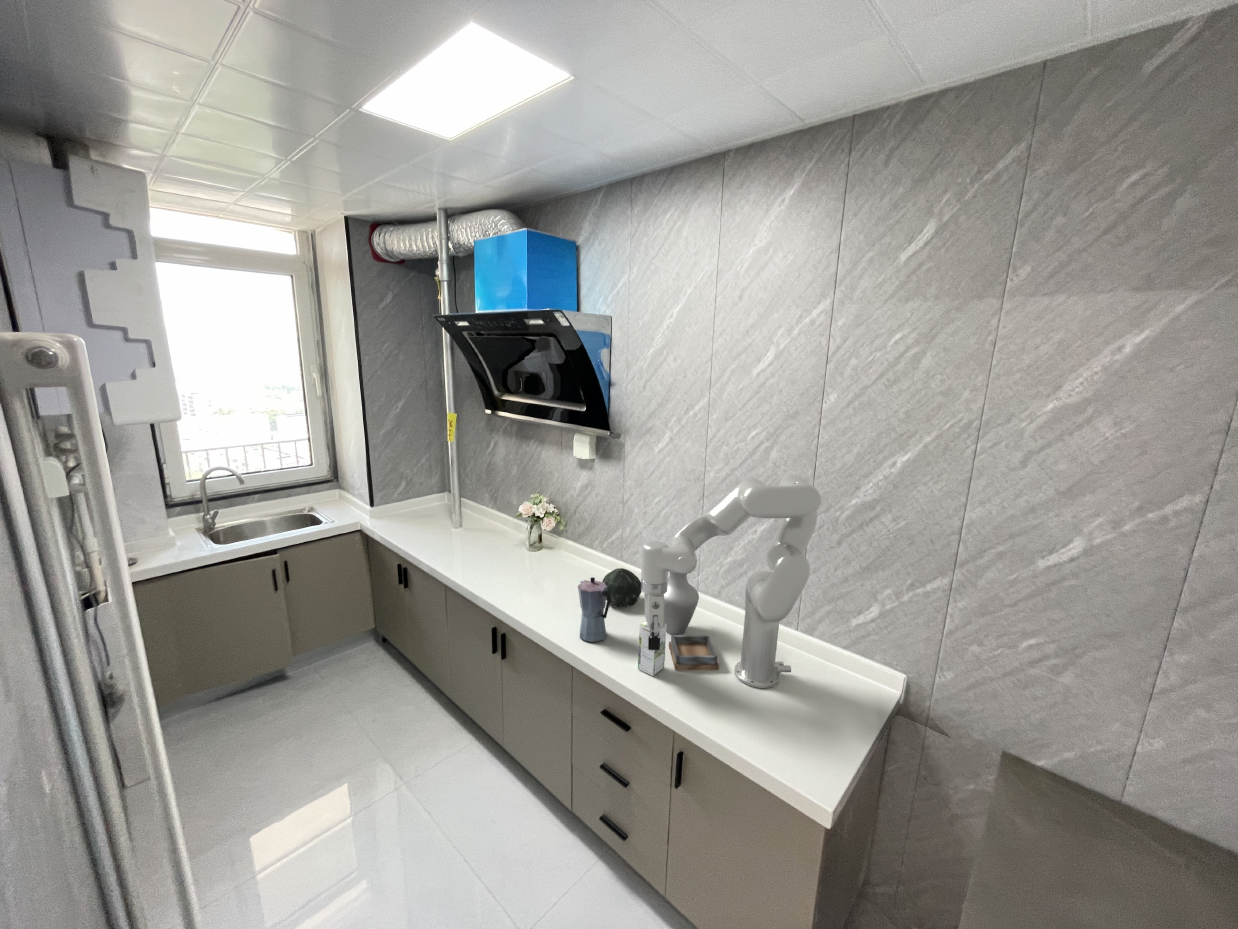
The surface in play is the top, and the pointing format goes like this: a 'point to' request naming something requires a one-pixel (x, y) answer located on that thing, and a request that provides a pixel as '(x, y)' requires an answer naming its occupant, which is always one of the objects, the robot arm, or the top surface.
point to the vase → (679, 603)
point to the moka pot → (593, 609)
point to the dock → (693, 652)
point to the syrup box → (651, 651)
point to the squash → (622, 587)
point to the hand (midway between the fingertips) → (652, 641)
